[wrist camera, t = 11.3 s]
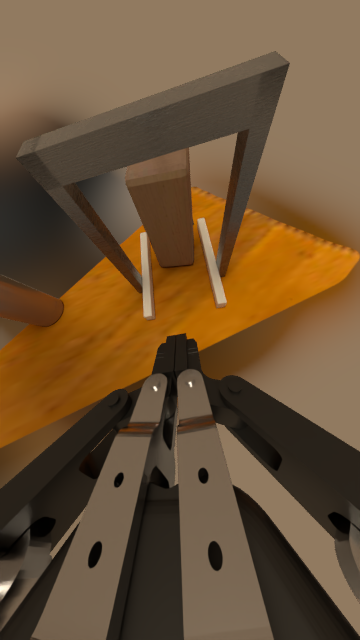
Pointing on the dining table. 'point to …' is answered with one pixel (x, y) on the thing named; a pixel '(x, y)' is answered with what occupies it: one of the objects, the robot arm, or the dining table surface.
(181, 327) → the dining table surface
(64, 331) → the dining table surface
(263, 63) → the arch
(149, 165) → the wooden block
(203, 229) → the walled lane
